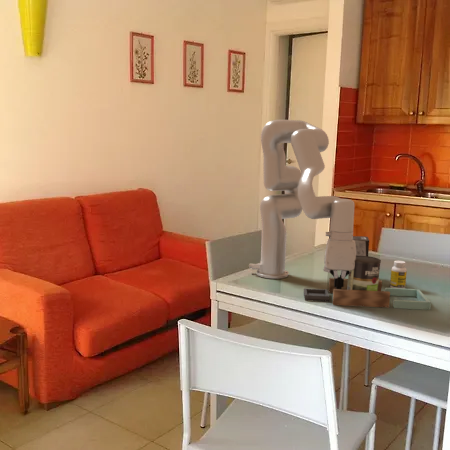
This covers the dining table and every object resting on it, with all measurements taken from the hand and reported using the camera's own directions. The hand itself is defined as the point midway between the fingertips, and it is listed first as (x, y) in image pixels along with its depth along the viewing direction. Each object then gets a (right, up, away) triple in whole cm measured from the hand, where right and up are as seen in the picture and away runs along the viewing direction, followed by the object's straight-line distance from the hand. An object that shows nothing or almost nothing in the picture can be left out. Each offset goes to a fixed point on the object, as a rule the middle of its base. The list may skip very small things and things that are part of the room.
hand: (338, 288), depth 186 cm
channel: (+7, -4, 0) cm, 7 cm away
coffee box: (+13, +1, +27) cm, 30 cm away
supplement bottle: (+25, -2, +16) cm, 30 cm away
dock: (+23, -4, -1) cm, 23 cm away
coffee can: (+8, -4, +1) cm, 9 cm away
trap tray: (-7, -3, +2) cm, 8 cm away
